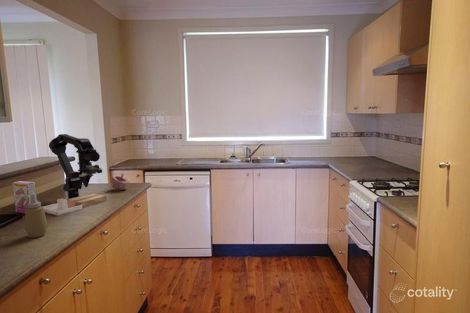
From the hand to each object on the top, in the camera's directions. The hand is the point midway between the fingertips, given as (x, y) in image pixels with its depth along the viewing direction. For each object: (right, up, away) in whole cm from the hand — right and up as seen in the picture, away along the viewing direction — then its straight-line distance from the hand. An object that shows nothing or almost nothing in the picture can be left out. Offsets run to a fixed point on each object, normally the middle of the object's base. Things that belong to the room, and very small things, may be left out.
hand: (86, 187), depth 180 cm
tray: (-8, -11, -12) cm, 18 cm away
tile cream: (-7, -8, -11) cm, 15 cm away
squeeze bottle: (+2, -16, -47) cm, 50 cm away
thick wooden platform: (0, -9, +1) cm, 10 cm away
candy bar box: (-24, -12, -16) cm, 31 cm away
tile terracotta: (-6, -10, -8) cm, 14 cm away
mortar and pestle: (+8, -5, +32) cm, 34 cm away
